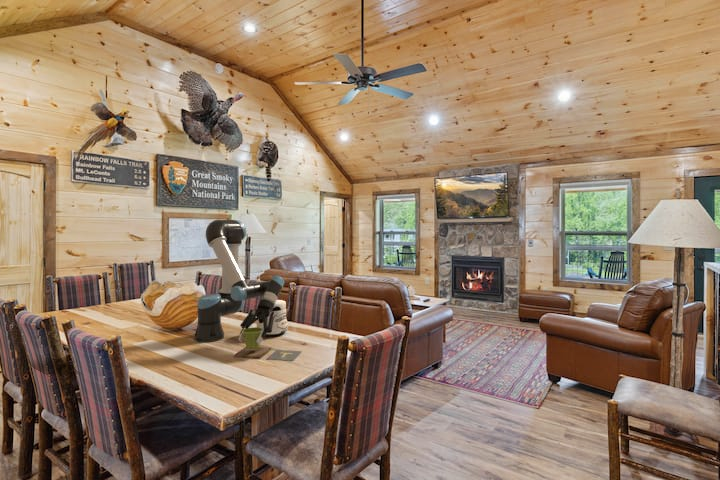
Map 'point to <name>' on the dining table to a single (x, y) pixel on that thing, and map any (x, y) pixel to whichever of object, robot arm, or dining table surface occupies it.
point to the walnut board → (252, 353)
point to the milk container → (276, 319)
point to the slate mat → (284, 355)
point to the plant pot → (252, 337)
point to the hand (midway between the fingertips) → (249, 342)
